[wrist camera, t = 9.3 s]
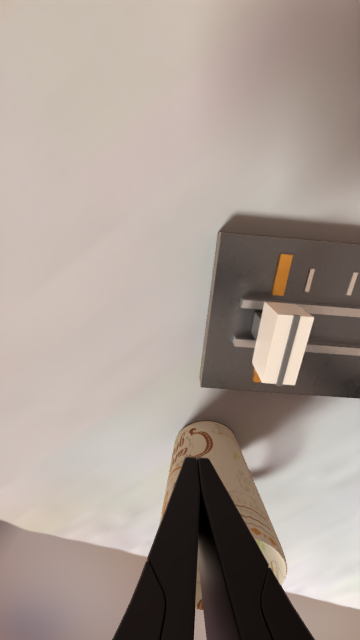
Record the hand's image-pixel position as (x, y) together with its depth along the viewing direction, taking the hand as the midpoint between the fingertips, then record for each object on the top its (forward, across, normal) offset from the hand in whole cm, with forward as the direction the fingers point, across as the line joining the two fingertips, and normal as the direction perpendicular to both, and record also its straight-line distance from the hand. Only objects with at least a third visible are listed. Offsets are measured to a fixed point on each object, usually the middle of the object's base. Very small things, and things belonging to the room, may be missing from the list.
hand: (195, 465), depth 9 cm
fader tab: (+11, -6, -2) cm, 12 cm away
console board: (+12, -11, -2) cm, 17 cm away
